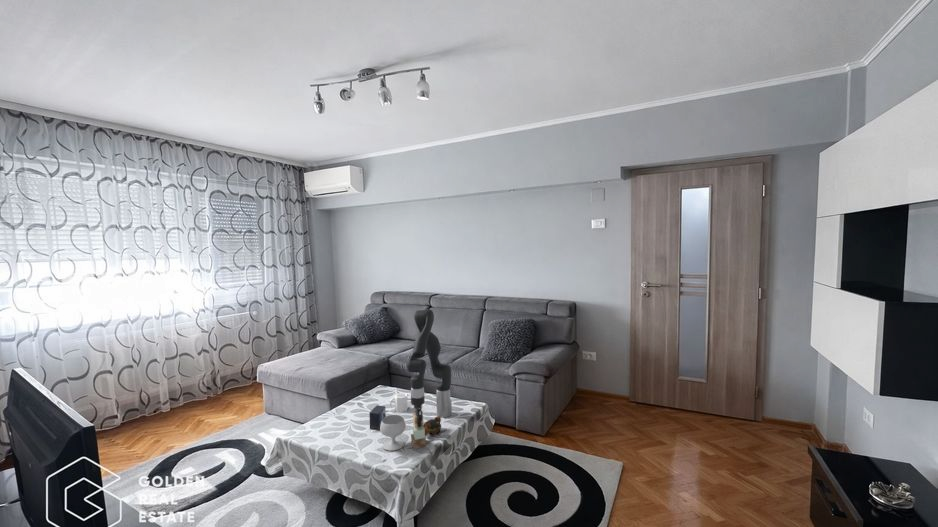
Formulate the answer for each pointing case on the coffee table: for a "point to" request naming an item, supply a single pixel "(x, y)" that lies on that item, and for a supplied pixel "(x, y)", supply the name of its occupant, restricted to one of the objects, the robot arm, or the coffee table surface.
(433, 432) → the decorative turtle
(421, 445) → the tower slab
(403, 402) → the mug
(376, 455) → the coffee table surface
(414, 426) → the oak block
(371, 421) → the small box
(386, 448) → the chalice
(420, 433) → the tower cube
